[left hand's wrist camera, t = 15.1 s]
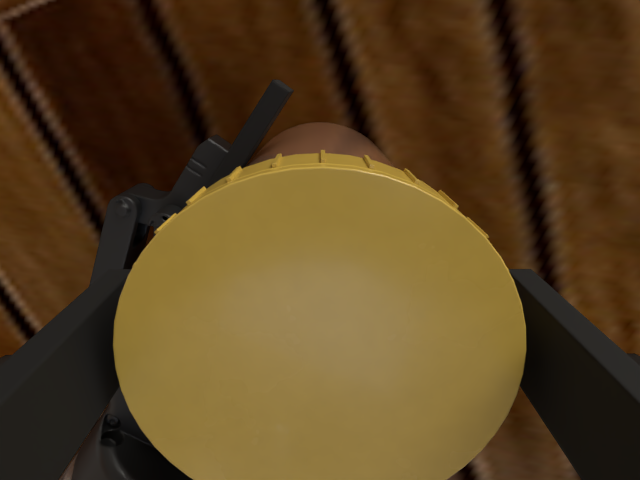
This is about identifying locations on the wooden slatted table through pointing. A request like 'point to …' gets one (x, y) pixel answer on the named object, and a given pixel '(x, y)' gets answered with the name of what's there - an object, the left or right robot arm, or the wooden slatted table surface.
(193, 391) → the lid
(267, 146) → the jar
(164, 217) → the right robot arm
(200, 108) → the wooden slatted table surface
